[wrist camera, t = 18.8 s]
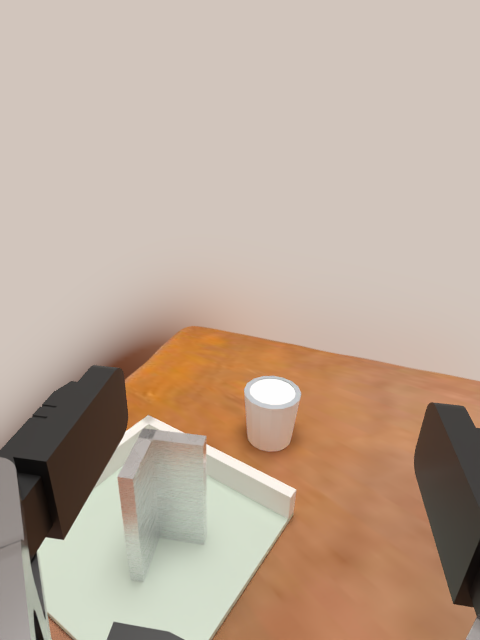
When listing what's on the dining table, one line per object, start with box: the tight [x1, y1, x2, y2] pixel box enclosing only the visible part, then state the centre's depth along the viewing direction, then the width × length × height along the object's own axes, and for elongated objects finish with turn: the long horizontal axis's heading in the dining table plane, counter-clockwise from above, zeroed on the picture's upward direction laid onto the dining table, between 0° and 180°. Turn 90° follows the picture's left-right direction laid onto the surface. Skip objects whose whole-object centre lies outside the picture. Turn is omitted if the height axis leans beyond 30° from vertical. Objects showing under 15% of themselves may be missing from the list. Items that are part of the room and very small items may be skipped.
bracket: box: [117, 428, 207, 582], centre depth 36 cm, size 6×6×12 cm
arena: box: [38, 415, 296, 640], centre depth 41 cm, size 20×20×4 cm
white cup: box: [244, 376, 301, 452], centre depth 53 cm, size 7×7×7 cm
